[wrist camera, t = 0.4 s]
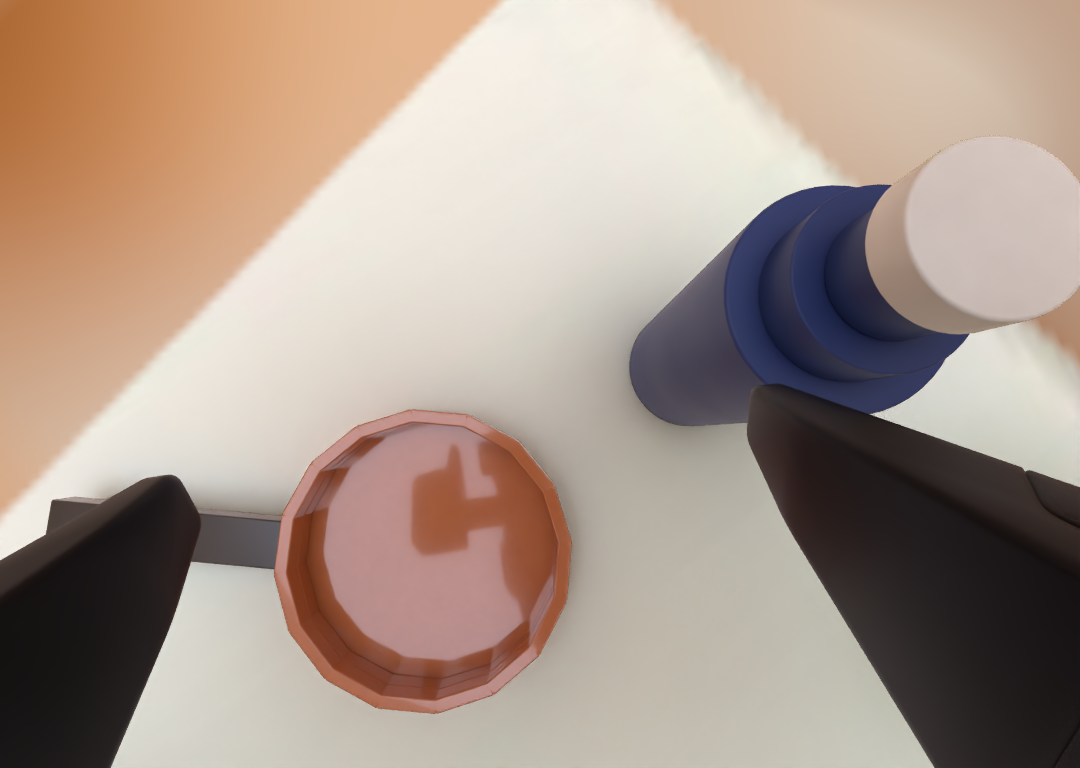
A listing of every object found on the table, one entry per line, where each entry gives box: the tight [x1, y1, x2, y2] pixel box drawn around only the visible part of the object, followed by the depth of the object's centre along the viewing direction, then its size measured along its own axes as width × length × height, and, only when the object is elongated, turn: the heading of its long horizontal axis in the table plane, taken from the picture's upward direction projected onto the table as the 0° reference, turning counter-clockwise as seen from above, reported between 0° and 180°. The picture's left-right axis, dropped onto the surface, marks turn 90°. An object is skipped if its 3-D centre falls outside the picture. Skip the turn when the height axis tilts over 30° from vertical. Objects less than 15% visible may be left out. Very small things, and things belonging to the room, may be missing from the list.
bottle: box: [630, 136, 1080, 426], centre depth 16 cm, size 5×5×16 cm
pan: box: [274, 409, 572, 714], centre depth 22 cm, size 11×11×2 cm
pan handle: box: [46, 497, 282, 569], centre depth 21 cm, size 9×2×1 cm, turn 85°
